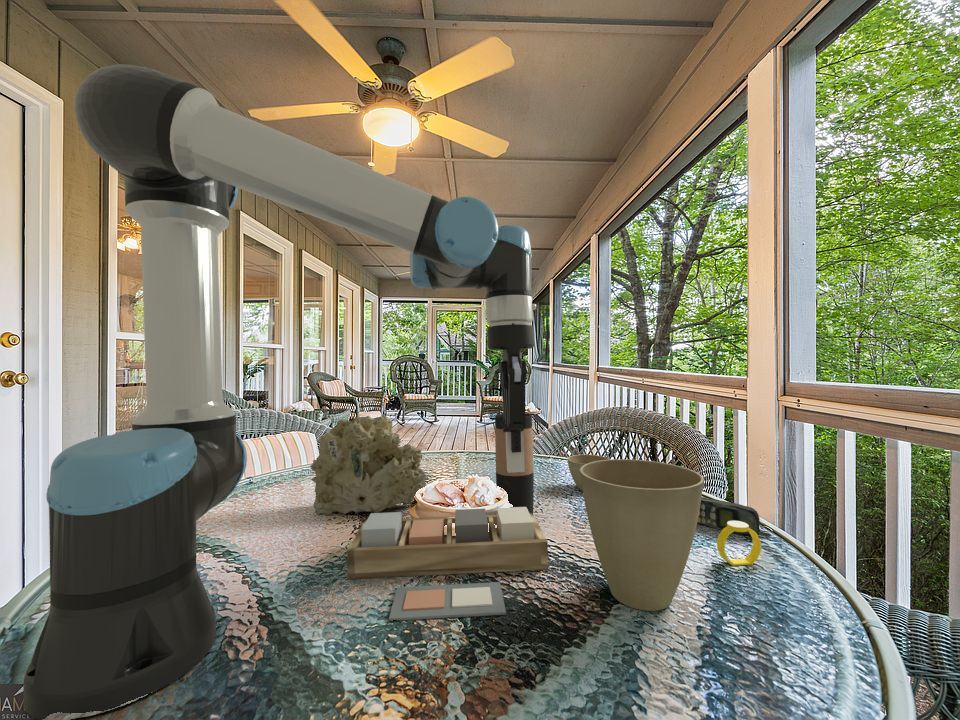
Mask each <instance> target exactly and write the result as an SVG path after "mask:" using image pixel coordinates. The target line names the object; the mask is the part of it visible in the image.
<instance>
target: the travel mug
mask: <svg viewBox="0 0 960 720" xmlns="http://www.w3.org/2000/svg"><path fill="white" fill-rule="evenodd" d="M503 419H504V414H503V413H497V414H495V415H494V429H495V430H494V433H495V435H494V437H495V438H494V440H495V441H494V443H495V483H496V484H495V486H496V485H497V486H499V487H501V488H503V489H504V490H505V491H506V492H507V494H508V501H509V503H510V504H512V505H513V507H527V509H528V511H529V513H533V514H534V482H535V481H534V480H535V479H534V477H535V475H534V472H535V470H534V466H535V465H534V440H533V439H534V438H533V415H532V414H530V413H525V423H526V428H525V429H523V435H524V461H525V472H512V473H508V471H507V458H506V432H503V428H505V424H504V422H503Z"/></svg>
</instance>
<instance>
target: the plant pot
mask: <svg viewBox="0 0 960 720" xmlns="http://www.w3.org/2000/svg"><path fill="white" fill-rule="evenodd" d="M580 475H581V482H582V488H583V490H582V494H583V498H584V499H583V500H584V505H585V511H586V515H587V520H588V524H589V529H590V532H591V536H592V540H593V543H594V547H595V550H596V553H597V557H598V560H599V563H600V567H601V569H602V571H603V572H602V573H603V575H604V577H605V579H606V583H607V585H608V588H609V591H610V593H611V595H612V596H613V597H614V598H615V599H616V600H617V601H618V602H619V603H621V604H623V605H624V606H627V607H629V608H632V609H635V610H640V611H646V612H647V611H649V612H654V611H660V610H661V611H662V610H664V609H666V608H668V607H669V606H670V605H672V601H673V599H674V597H675V595H676V592H677V590H678V587H679V586H680V582H681V579H682V577H683V574H684V572H685V568H686V566H687V562H688V559H689V556H690V553H691V550H692V546H693V542H694V538H695V534H696V530H697V525H698V524H697V521H698V516H699V510H700V504H701V497H703V489H704V482H705V479H704V477H703V476H702V475H701V474H700V473H699V472H697V471H695V470H694V469H693V470H692V469H690V468H687V467H684V466H680V465H675V464H672V463H667V462H660V461H652V460H646V459H645V460H643V459H631V458H629V459H628V458H626V459H625V458H624V459H623V458H618V459H610V460H600V461H595V462H591V463H588V464H585V465H583V466H582V467H581V468H580Z"/></svg>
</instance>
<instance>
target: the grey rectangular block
mask: <svg viewBox="0 0 960 720" xmlns="http://www.w3.org/2000/svg"><path fill="white" fill-rule="evenodd" d="M454 511H455V513H454V516H455V533H456V543H470V542H489V534H488V520H487V516H486V515H487V512H486V508H470V509H469V508H468V509H467V508H463V509H455V510H454Z"/></svg>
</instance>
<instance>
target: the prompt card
mask: <svg viewBox="0 0 960 720" xmlns="http://www.w3.org/2000/svg"><path fill="white" fill-rule="evenodd" d="M506 610H507V609H506V607H505V601H504V596H503V591H502V586H501V582H500V581H495V582H475V583H457V584H436V585H417V586H416V585H415V586H398V587H396V590H395V594H394V598H393V601H392V606H391V610H390V612H389V617H388V622H394V621H393V620H397V621H398V620H399V621H415V620H430V619H431V620H433V619H447V618H448V619H449V618H467V617H468V618H469V617H484V616H501V615H503V616H504V615H505V616H506V615H507V611H506ZM397 621H396V622H397Z"/></svg>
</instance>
